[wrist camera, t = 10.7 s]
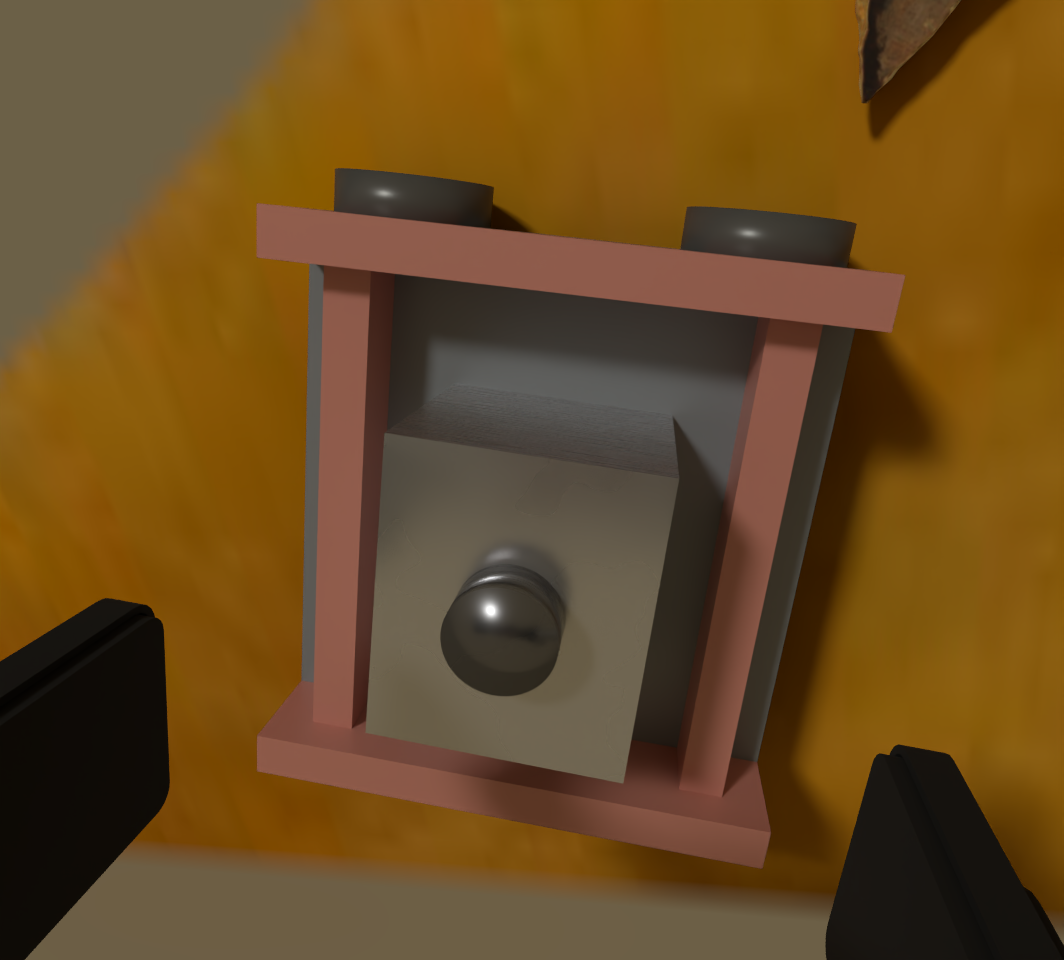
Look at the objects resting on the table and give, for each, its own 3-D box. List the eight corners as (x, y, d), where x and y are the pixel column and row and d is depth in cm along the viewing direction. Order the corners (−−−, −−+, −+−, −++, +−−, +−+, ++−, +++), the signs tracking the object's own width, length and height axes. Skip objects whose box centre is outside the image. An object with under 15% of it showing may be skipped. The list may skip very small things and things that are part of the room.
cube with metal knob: (672, 415, 18) (681, 497, 12) (630, 652, 19) (621, 820, 14) (455, 383, 18) (363, 447, 12) (433, 616, 20) (346, 765, 14)
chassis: (844, 227, 19) (918, 221, 14) (732, 752, 23) (754, 900, 18) (360, 176, 20) (257, 153, 15) (341, 683, 24) (256, 802, 19)
